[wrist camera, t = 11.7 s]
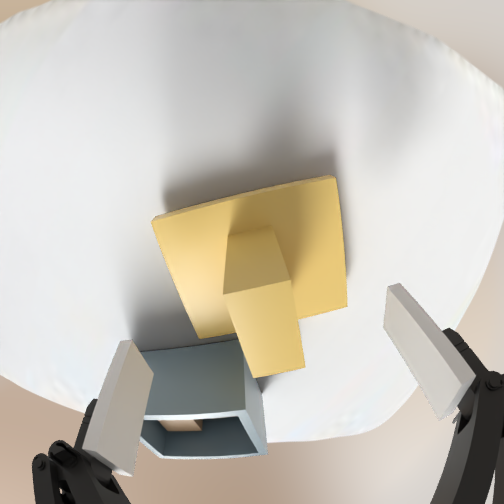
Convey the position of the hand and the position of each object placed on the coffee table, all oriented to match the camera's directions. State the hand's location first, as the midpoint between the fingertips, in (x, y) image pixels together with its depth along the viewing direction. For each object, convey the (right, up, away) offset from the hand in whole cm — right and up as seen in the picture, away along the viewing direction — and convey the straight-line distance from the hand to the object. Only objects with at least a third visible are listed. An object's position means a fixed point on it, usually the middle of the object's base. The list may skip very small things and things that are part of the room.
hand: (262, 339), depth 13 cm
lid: (0, +4, +8) cm, 8 cm away
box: (-6, -9, +14) cm, 18 cm away
